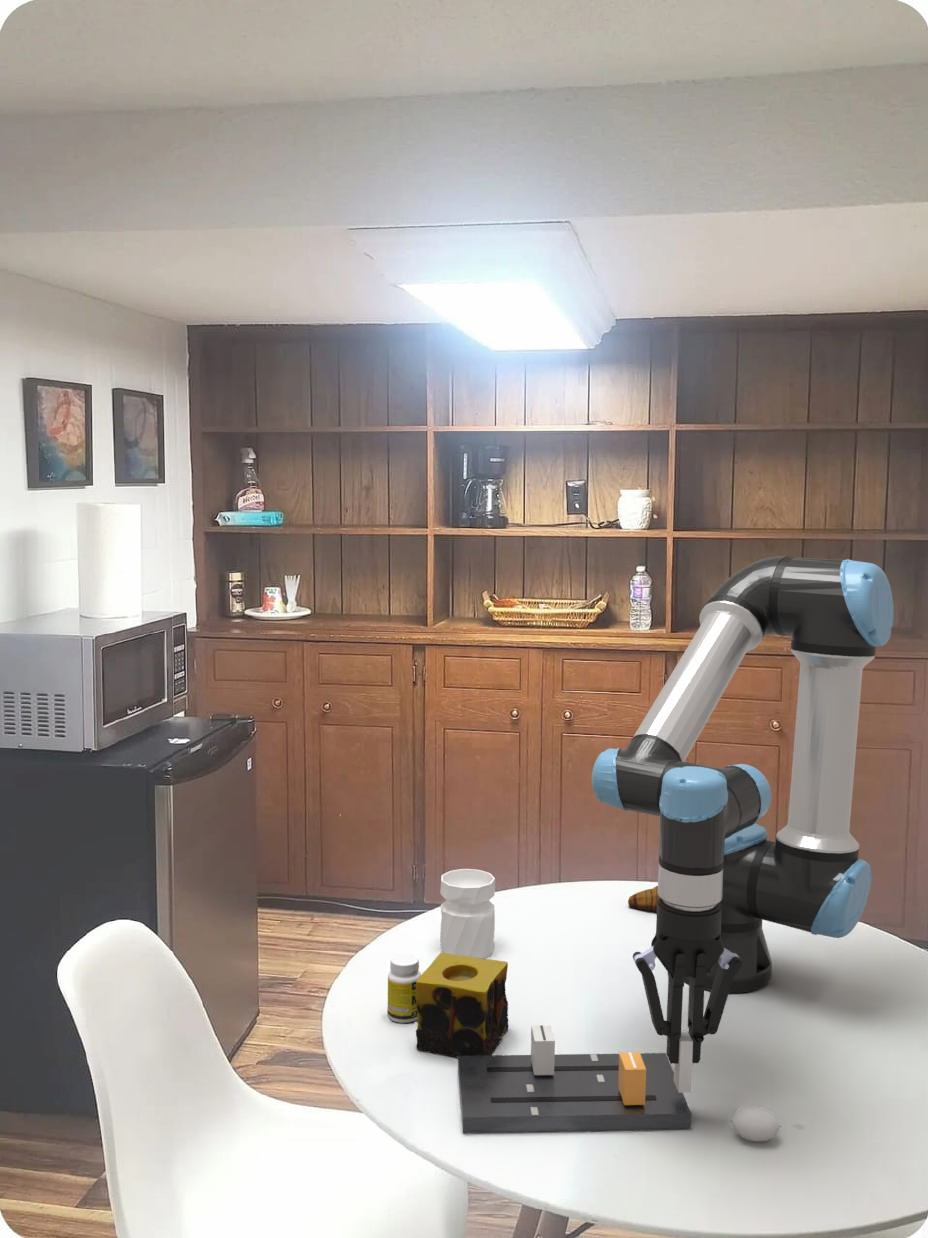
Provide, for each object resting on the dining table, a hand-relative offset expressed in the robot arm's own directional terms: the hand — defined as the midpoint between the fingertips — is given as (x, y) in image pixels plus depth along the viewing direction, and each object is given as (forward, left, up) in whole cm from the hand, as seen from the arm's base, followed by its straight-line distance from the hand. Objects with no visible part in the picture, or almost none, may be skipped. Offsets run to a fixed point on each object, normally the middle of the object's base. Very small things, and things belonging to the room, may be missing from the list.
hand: (682, 1086), depth 138 cm
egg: (-7, +5, -4) cm, 10 cm away
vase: (+24, -48, -4) cm, 53 cm away
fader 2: (+6, 0, -1) cm, 6 cm away
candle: (+26, -19, -4) cm, 32 cm away
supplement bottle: (+34, -26, -4) cm, 42 cm away
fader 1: (+16, -7, -1) cm, 18 cm away
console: (+13, -4, -3) cm, 14 cm away
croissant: (-12, -64, -4) cm, 65 cm away
